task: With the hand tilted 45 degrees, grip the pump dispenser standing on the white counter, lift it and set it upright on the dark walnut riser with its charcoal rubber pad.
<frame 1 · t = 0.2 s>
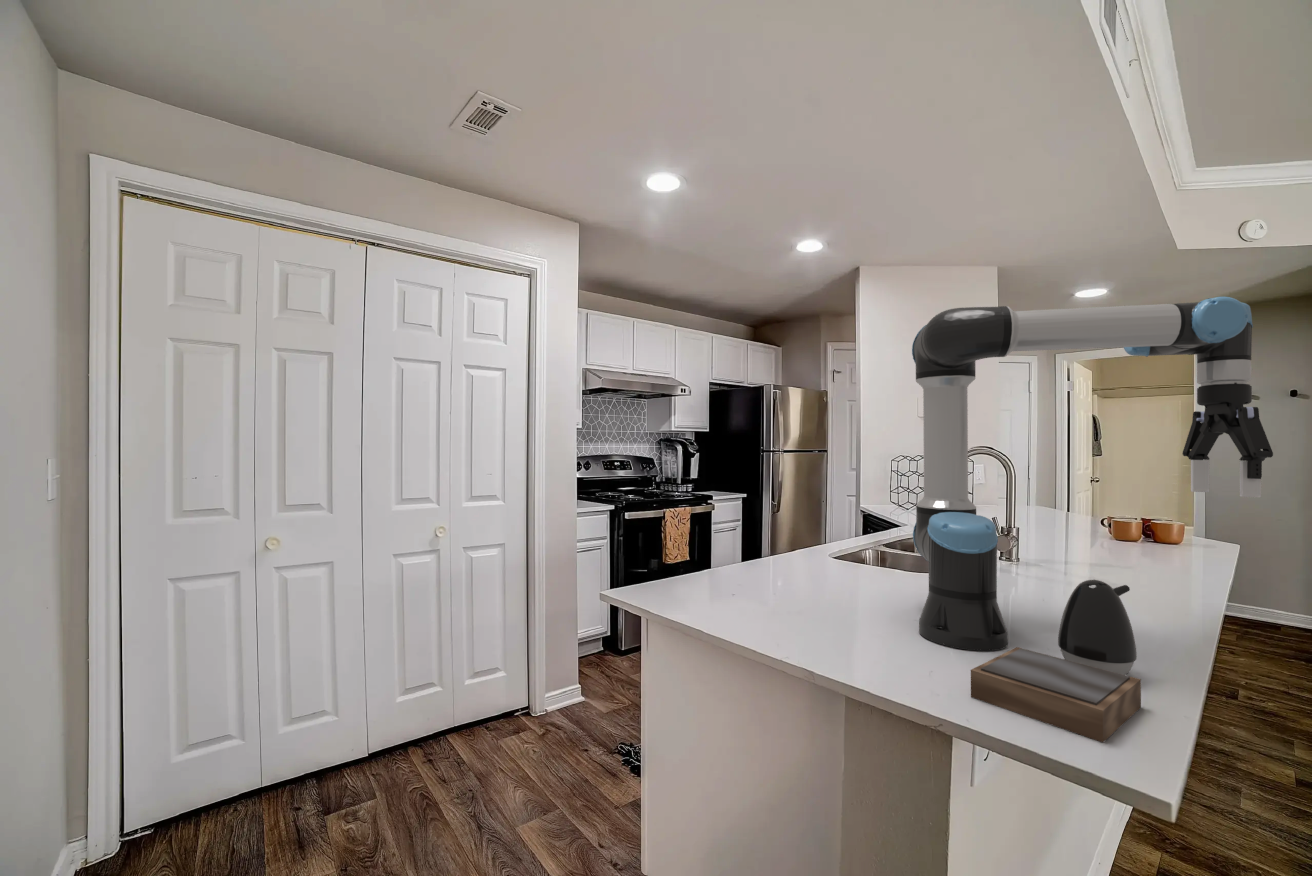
hand: (1223, 494, 111), 28 cm above the counter, fingers open, 13 cm apart
walnut riser: (1054, 702, 83), on the counter
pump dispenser: (1096, 674, 94), on the counter
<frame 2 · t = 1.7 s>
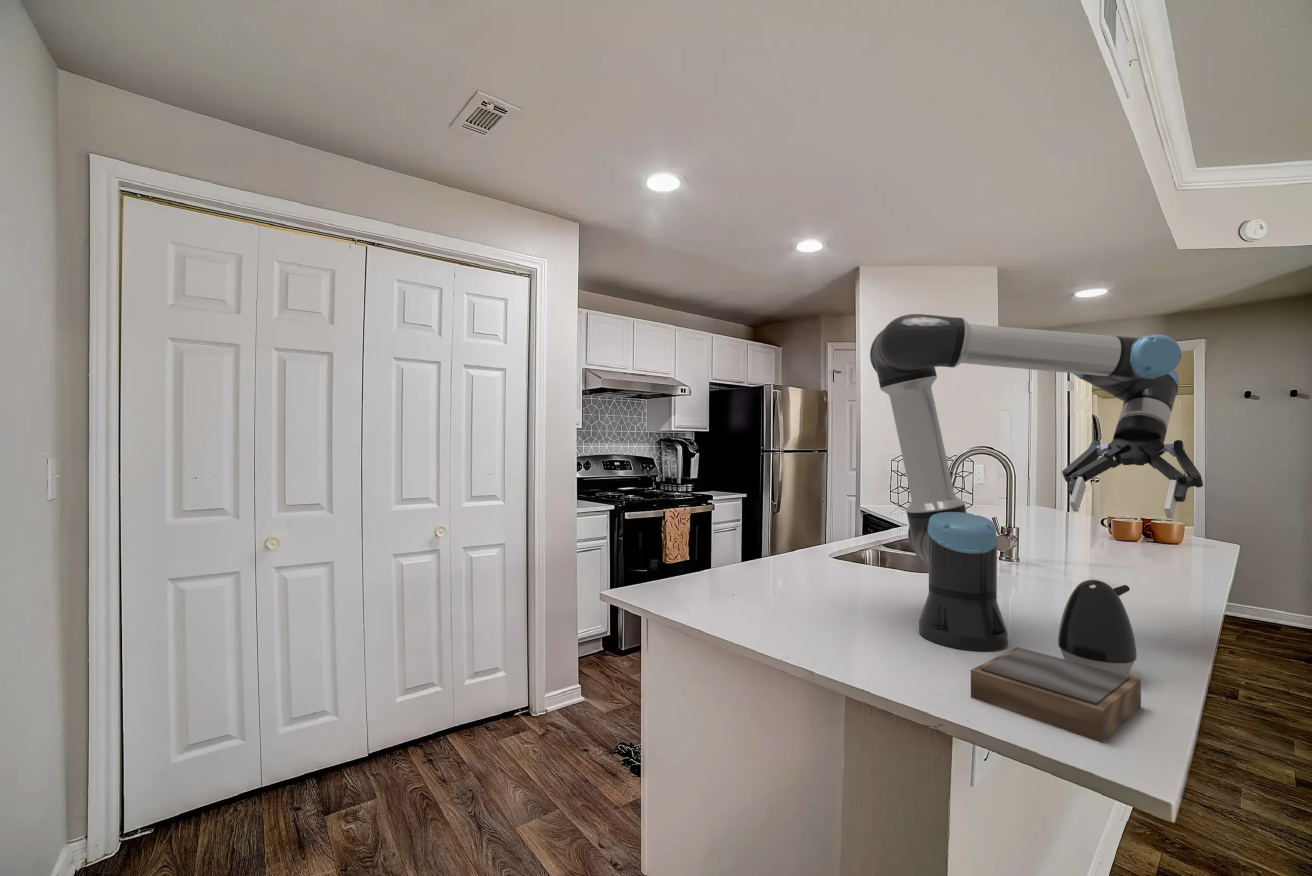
hand: (1118, 510, 103), 26 cm above the counter, fingers open, 13 cm apart
nothing on the counter moved.
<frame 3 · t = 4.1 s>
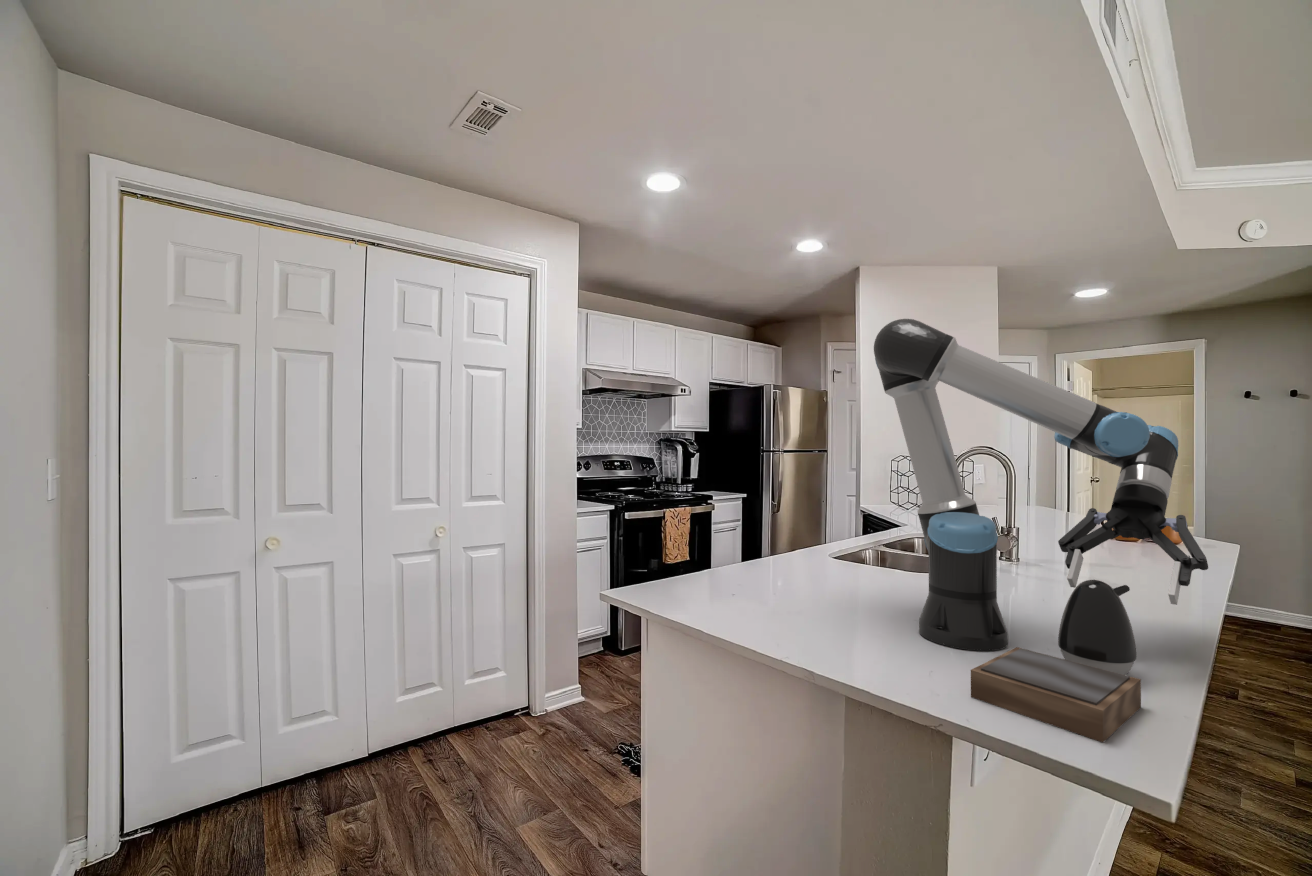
hand: (1119, 591, 97), 13 cm above the counter, fingers open, 13 cm apart
nothing on the counter moved.
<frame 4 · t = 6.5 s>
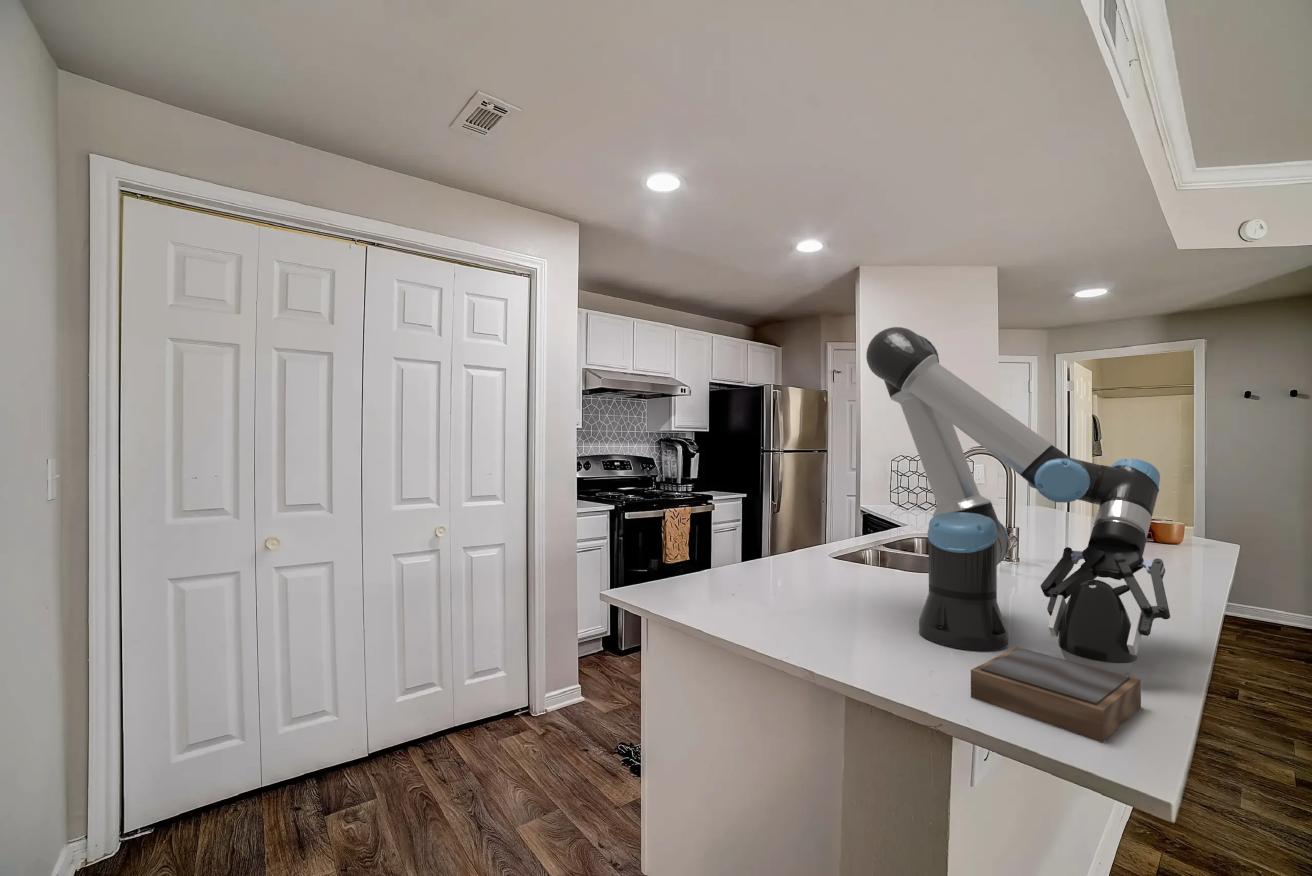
hand: (1090, 640, 92), 6 cm above the counter, fingers closed on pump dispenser, 10 cm apart
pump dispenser: (1097, 674, 94), on the counter, touching gripper
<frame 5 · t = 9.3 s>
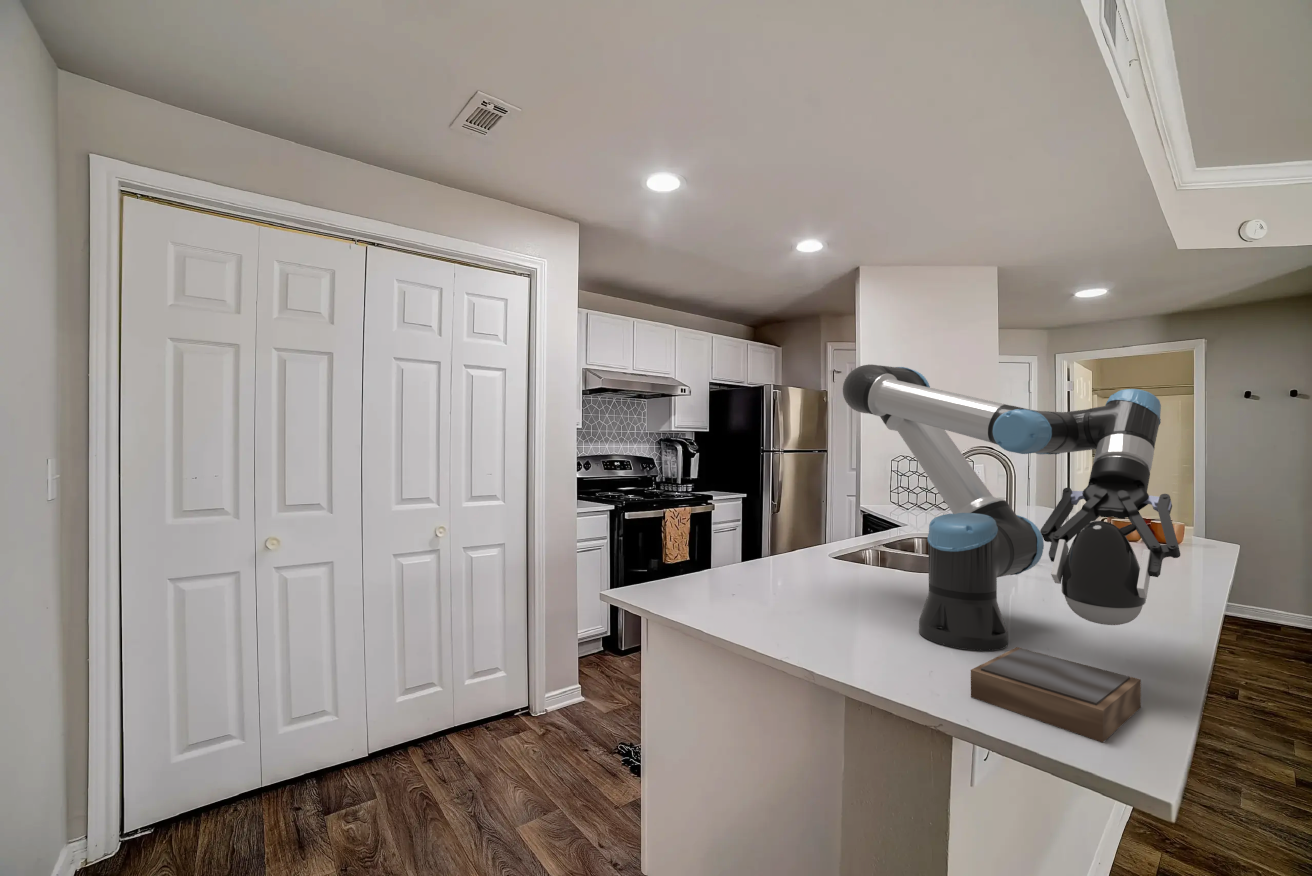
hand: (1096, 585, 86), 16 cm above the counter, fingers closed on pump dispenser, 10 cm apart
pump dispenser: (1103, 620, 88), point 10 cm above the counter, touching gripper
when the fingers open (11 cm above the counter, at t = 12.1 s): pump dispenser moves 1 cm, resting on walnut riser.
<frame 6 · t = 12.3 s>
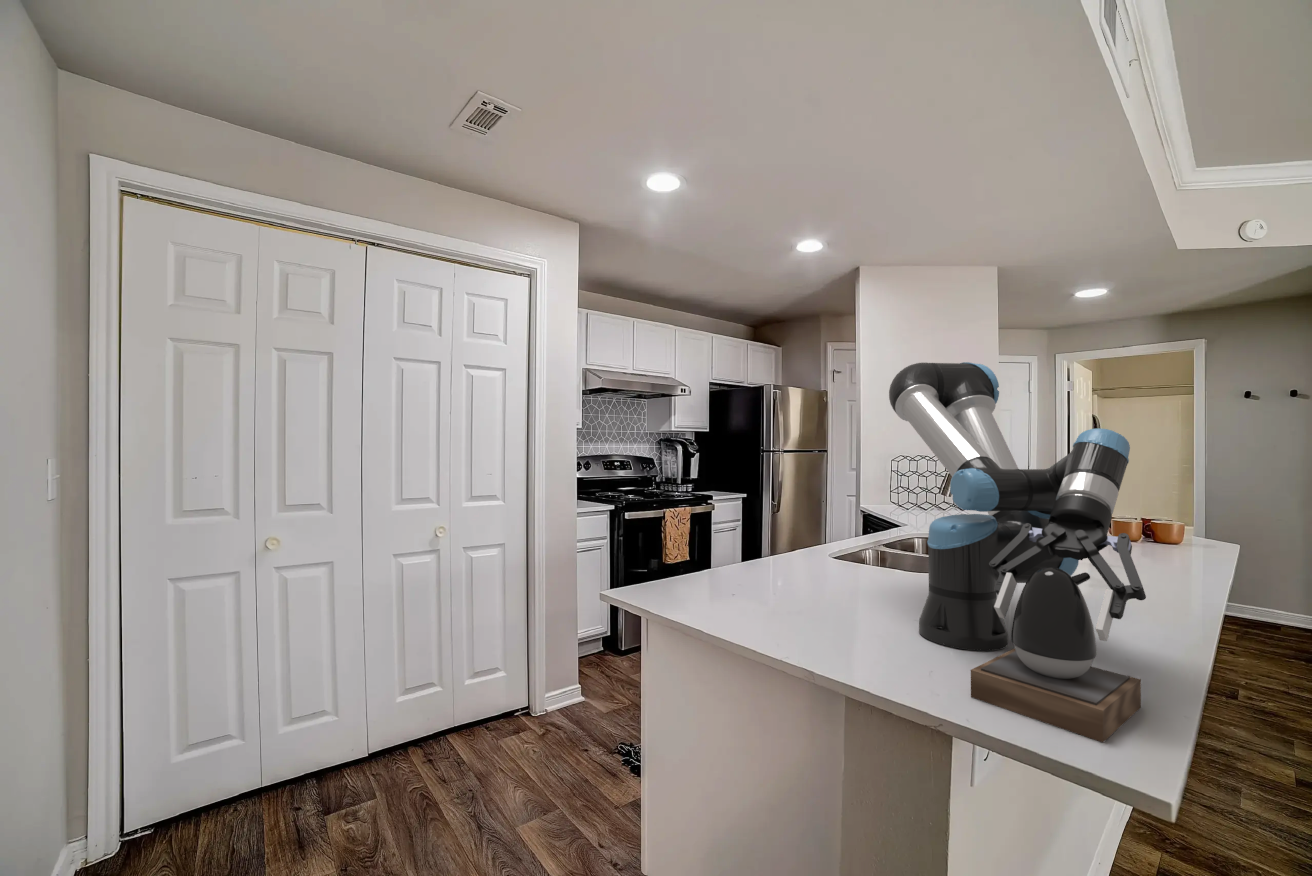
hand: (1047, 623, 82), 12 cm above the counter, fingers open, 12 cm apart
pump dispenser: (1053, 672, 83), point 4 cm above the counter, touching walnut riser
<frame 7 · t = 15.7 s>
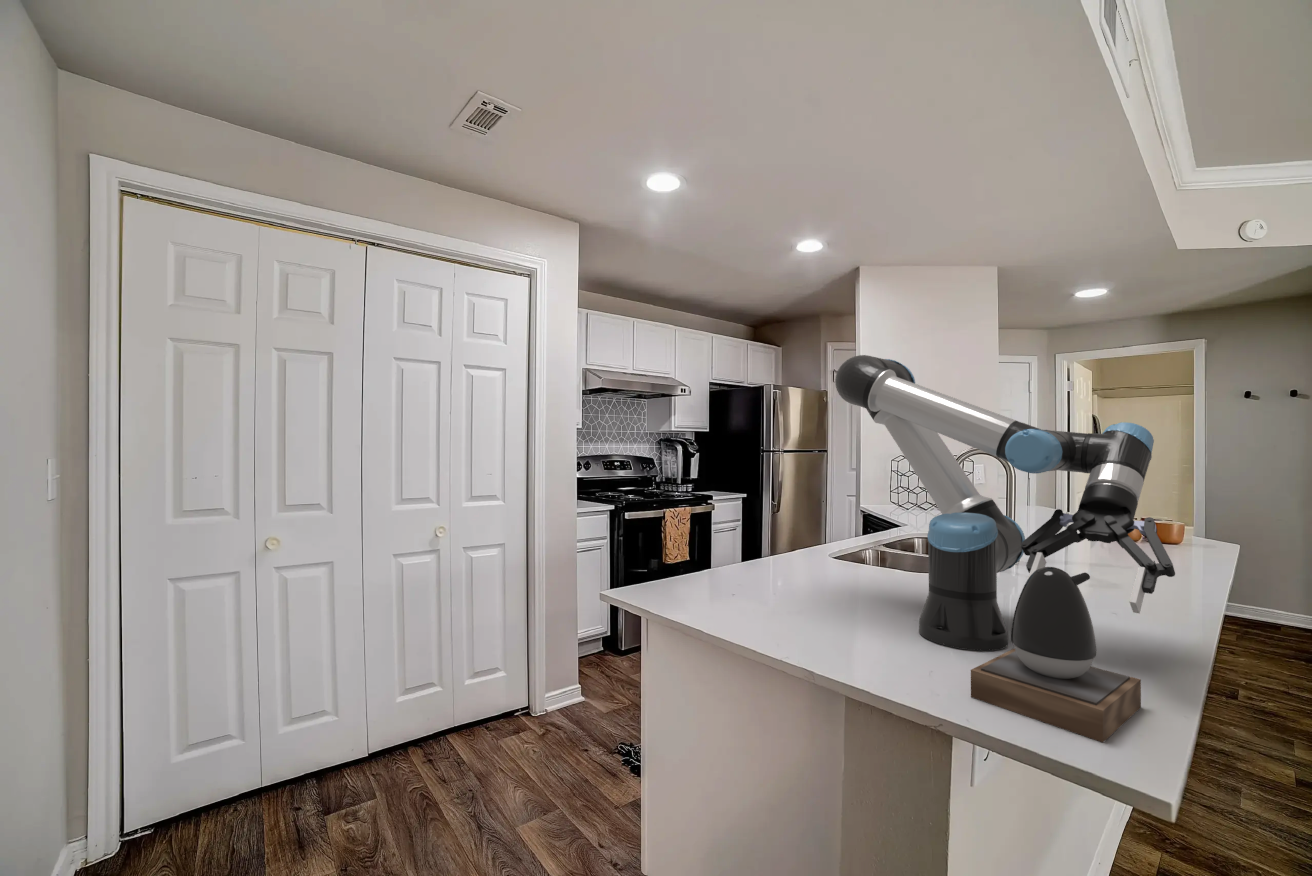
hand: (1079, 597, 90), 13 cm above the counter, fingers open, 13 cm apart
nothing on the counter moved.
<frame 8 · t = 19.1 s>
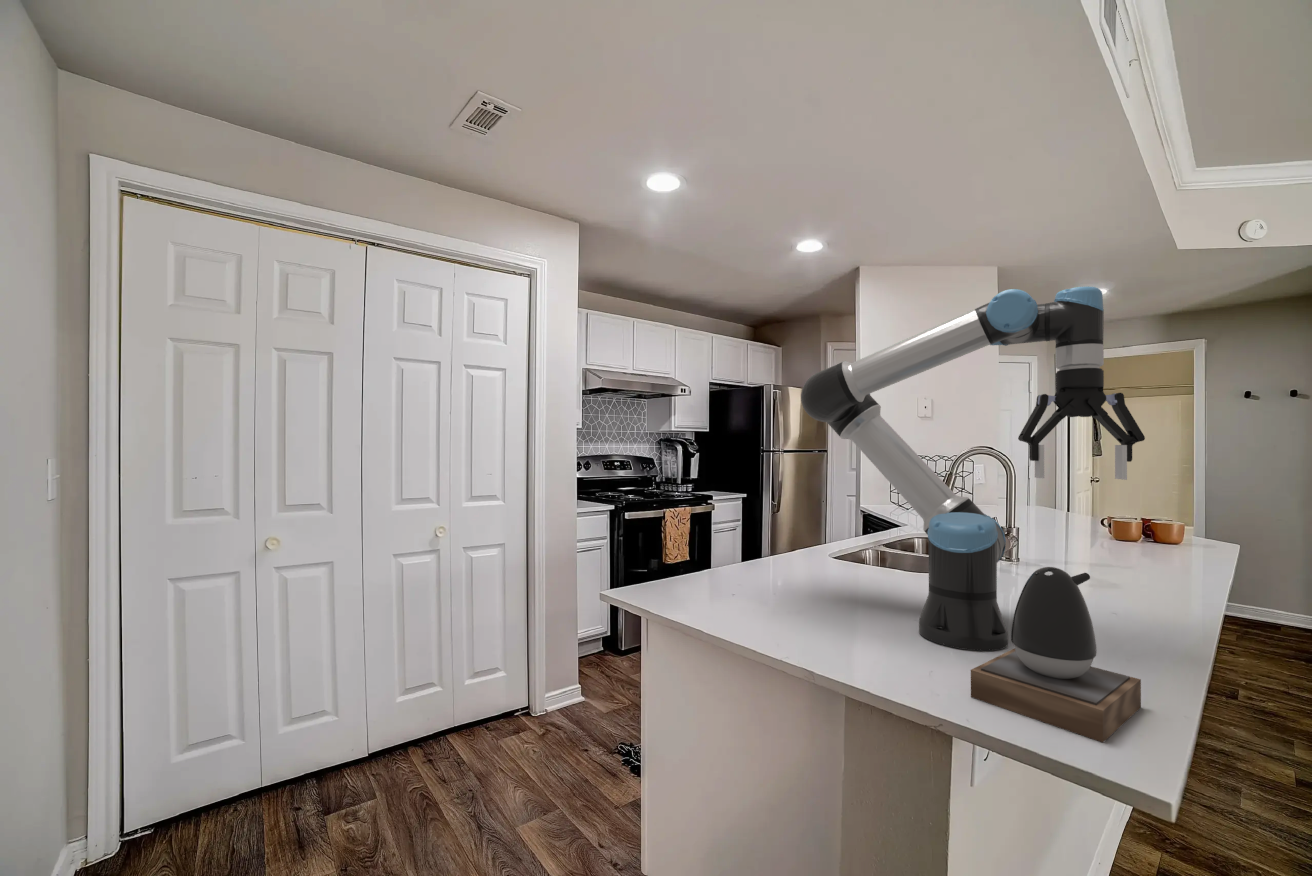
hand: (1079, 478, 111), 31 cm above the counter, fingers open, 13 cm apart
nothing on the counter moved.
at the end: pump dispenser inside the target area on the walnut riser (0.2 cm from its centre), point 4.1 cm above the walnut riser's base; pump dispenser tilted 0°; the gripper is holding nothing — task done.
